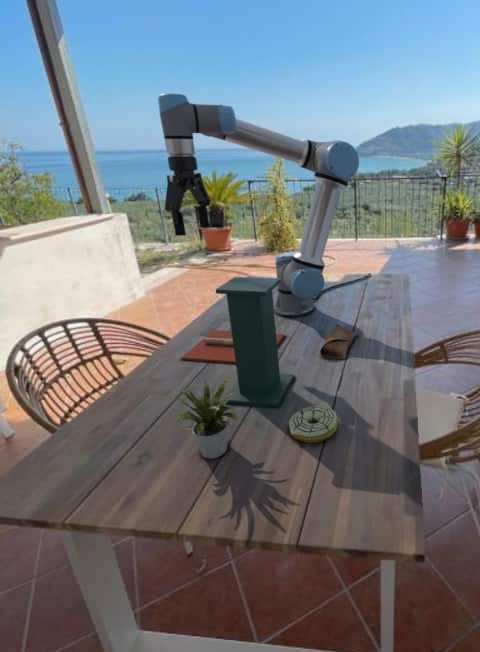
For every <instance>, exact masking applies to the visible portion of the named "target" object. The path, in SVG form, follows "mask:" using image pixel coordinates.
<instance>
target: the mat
mask: <svg viewBox="0 0 480 652" xmlns="http://www.w3.org/2000/svg"><path fill="white" fill-rule="evenodd" d="M285 337H286V334H285V333H284V334H283V333H276V339H277V347H279V346H280V344H281V342H283V340H284V338H285ZM205 338H221V339H233V338H232V331H231V330H218V329H213V330H212V331H210V332H209V333H208V334H207V335H206V336H205V337H204V338H202V339H201V340H200V341H198V343H197V344H195V345H194V346H193V347H192V348H191V349H189V350H188V351H187V352H186V353H185V354H184V355H182V356H181V360H182V361H195V362H208V363H219V364H220V363H222V364H234V365H236V361H235V353H234V346H233V345H217V344H205V343H204V339H205Z"/></svg>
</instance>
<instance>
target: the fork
mask: <svg viewBox="0 0 480 652" xmlns="http://www.w3.org/2000/svg"><path fill="white" fill-rule="evenodd" d="M204 338H205V337H204ZM204 338H203V339H204ZM204 343H205V344H217V345H233V339H221V338H205V339H204Z"/></svg>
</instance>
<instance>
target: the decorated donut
mask: <svg viewBox="0 0 480 652" xmlns="http://www.w3.org/2000/svg"><path fill="white" fill-rule="evenodd" d="M288 427H289V433H290V435H291V436H292V438H293V439H295V440H298V441H300V442H304V443H310V444H317V443H321V442H324V441H326V440H327V439H330V438H331V437H332V436H333V435H334V434H335V432H336V430H337V428H338V417H337V413H336V411H334V410H333V409H332V408H330V407H328V406H324V405H311V406H308V407H304V408H302V409H301V408H300V409H299V410H298V411H296V412H295V413H294V414H292V416H291V417H290V419H289V421H288Z"/></svg>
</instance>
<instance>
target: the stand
mask: <svg viewBox="0 0 480 652" xmlns="http://www.w3.org/2000/svg"><path fill="white" fill-rule="evenodd" d="M279 283H281V280H280V279H277V278H272V277H250V276H249V277H248V276H234V277H232V278H231V279H229V280H228V281H226V282H225V283H223V284H222V285H220V286H219V287H217V288H216V289H215V294H216V295H226V300H227V308H228V315H229V323H230V331H232V338H233V346H234V353H235V361H236V364H235V366H236V368H235V369H236V374H237V382H236V383H235V385H234V386H233V387H232V388H231V390H230V391H229V392H228V393H227V395H228V394H230V393H233V392H237V393H234V394H232V395H230V396H228V397H227V398H226V399H229V400H228V402H227V403H226V404H232V405H244V406H257V407H265V408H266V407H267V408H278V407H279V405H280V404H281V403H282V400H283V398H284V397H285V395H286V394H287V391H288V390H289V388H290V386H291V384H292V382H293V381H294V379H295V374H294V373H281V372H280V363H279V362H280V361H279V350H278V346H277V339H276V334H277V328H276V318H275V304H274V295H273V290H274V289H276V288H277V287H278V284H279ZM230 398H232V399H230Z"/></svg>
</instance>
